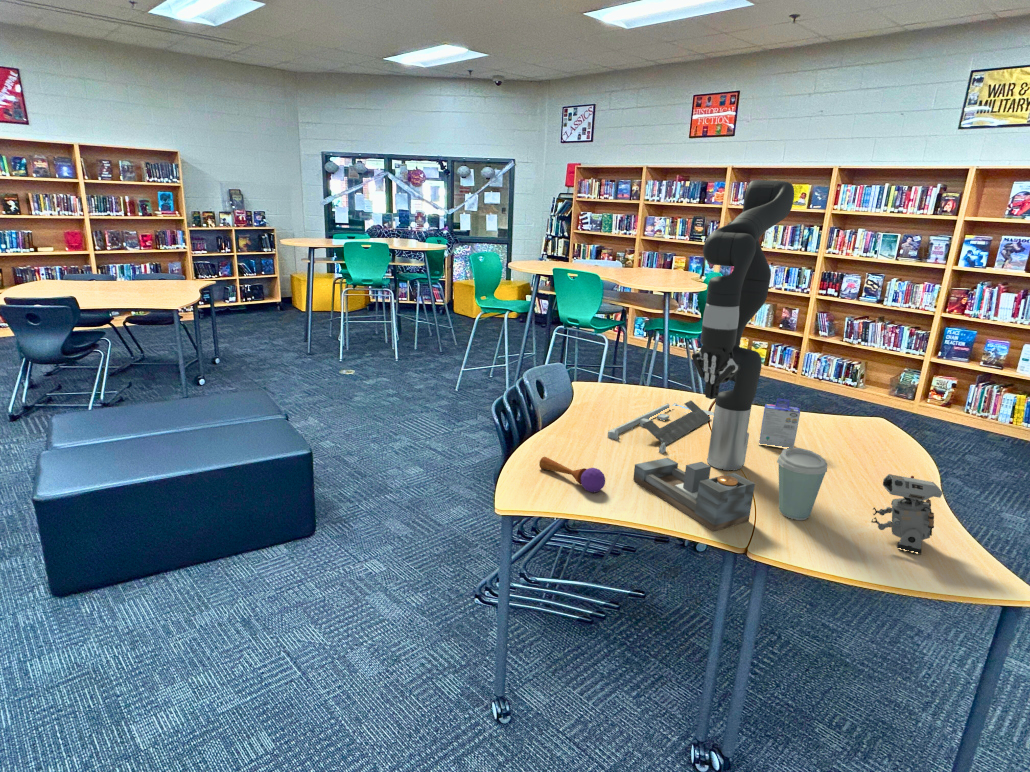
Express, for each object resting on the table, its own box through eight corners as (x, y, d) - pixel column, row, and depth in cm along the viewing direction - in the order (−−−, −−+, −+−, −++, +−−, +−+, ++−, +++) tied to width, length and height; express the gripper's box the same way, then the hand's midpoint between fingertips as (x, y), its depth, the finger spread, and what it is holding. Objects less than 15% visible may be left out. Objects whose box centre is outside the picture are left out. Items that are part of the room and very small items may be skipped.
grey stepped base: (665, 473, 164) (669, 440, 161) (748, 521, 140) (755, 483, 138) (633, 480, 159) (636, 446, 156) (713, 531, 135) (719, 492, 133)
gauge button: (725, 488, 141) (727, 474, 140) (740, 496, 138) (742, 481, 137) (711, 491, 139) (713, 477, 138) (725, 499, 136) (728, 485, 135)
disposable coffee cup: (828, 522, 141) (840, 462, 137) (789, 528, 138) (801, 466, 134) (795, 501, 151) (806, 445, 147) (758, 506, 148) (768, 448, 144)
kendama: (552, 451, 166) (611, 470, 151) (549, 472, 166) (608, 493, 152) (537, 452, 161) (596, 472, 147) (534, 474, 162) (593, 496, 148)
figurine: (866, 525, 141) (880, 465, 137) (925, 539, 136) (942, 477, 131) (866, 542, 133) (881, 479, 129) (928, 558, 128) (946, 493, 124)
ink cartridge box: (792, 445, 188) (801, 400, 183) (794, 451, 183) (802, 405, 178) (758, 439, 191) (765, 395, 187) (758, 446, 186) (766, 400, 182)
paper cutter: (607, 438, 188) (609, 421, 186) (673, 406, 221) (675, 391, 219) (661, 455, 177) (663, 437, 175) (722, 418, 210) (724, 403, 208)
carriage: (693, 487, 152) (697, 458, 150) (714, 500, 146) (719, 469, 144) (674, 492, 149) (677, 462, 147) (694, 505, 143) (699, 473, 141)
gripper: (755, 328, 133) (744, 404, 139) (709, 317, 144) (701, 388, 150) (731, 331, 130) (721, 409, 135) (686, 320, 141) (678, 392, 146)
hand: (710, 397), depth 142 cm, fingers closed
